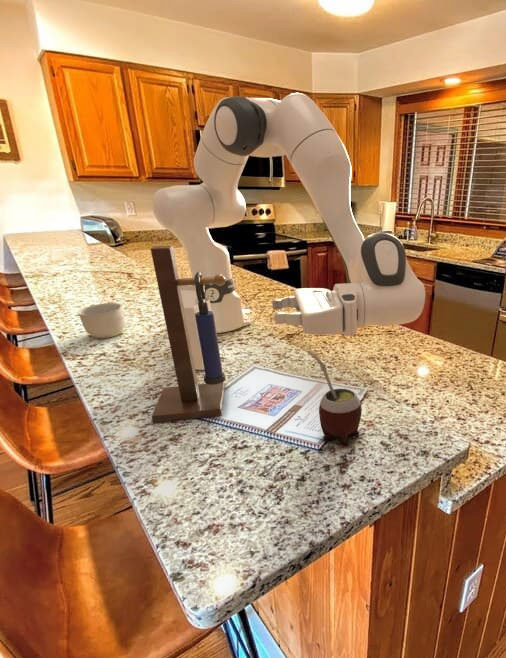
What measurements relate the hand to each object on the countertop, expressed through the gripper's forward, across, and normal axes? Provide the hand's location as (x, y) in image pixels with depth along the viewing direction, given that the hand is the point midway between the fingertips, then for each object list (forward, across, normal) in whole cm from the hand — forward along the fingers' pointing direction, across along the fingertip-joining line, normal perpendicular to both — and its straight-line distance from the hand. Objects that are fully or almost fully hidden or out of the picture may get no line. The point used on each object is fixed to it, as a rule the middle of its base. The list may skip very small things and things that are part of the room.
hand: (273, 311), depth 81 cm
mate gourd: (-9, +19, +18) cm, 27 cm away
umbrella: (+12, +1, +13) cm, 18 cm away
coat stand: (+16, +1, +17) cm, 23 cm away
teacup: (+47, -50, +18) cm, 71 cm away
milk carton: (+18, -20, +18) cm, 33 cm away
